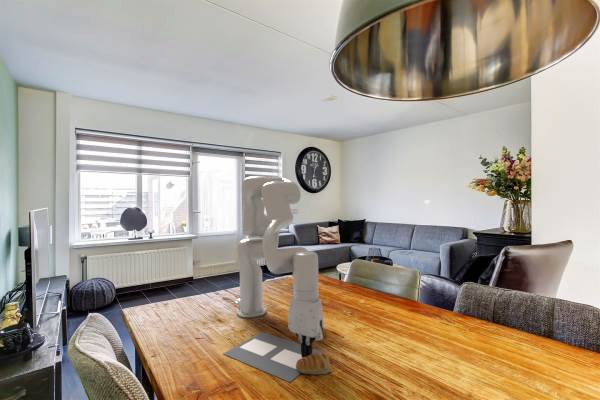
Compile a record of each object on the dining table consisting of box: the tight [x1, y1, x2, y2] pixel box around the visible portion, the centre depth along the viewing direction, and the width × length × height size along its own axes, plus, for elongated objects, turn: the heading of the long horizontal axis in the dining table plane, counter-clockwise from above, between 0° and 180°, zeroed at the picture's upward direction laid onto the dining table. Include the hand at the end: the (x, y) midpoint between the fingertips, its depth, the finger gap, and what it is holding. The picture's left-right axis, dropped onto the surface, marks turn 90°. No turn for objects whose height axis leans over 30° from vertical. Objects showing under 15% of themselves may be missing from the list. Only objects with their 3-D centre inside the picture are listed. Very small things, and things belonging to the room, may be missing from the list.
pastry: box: [296, 351, 331, 376], centre depth 81 cm, size 9×7×4 cm
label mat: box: [222, 331, 325, 384], centre depth 90 cm, size 26×18×1 cm
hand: (306, 355), depth 86 cm, fingers closed
